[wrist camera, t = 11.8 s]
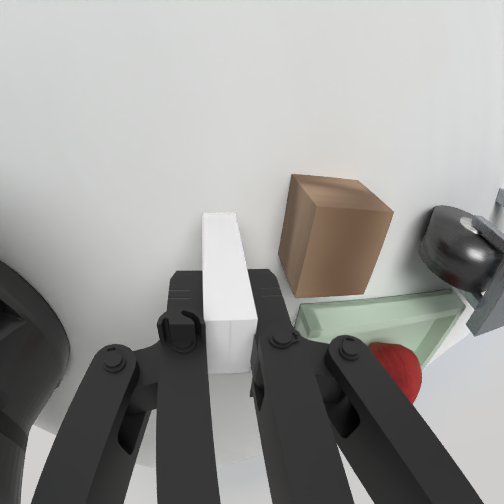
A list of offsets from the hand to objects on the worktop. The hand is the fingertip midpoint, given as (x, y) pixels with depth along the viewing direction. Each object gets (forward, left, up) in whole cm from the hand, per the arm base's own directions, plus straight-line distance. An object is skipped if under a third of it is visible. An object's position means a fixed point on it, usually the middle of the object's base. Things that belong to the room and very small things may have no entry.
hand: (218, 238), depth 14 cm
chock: (+6, 0, -2) cm, 6 cm away
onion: (+14, -12, -2) cm, 18 cm away
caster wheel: (+19, 0, -2) cm, 19 cm away
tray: (+14, -12, -2) cm, 18 cm away
